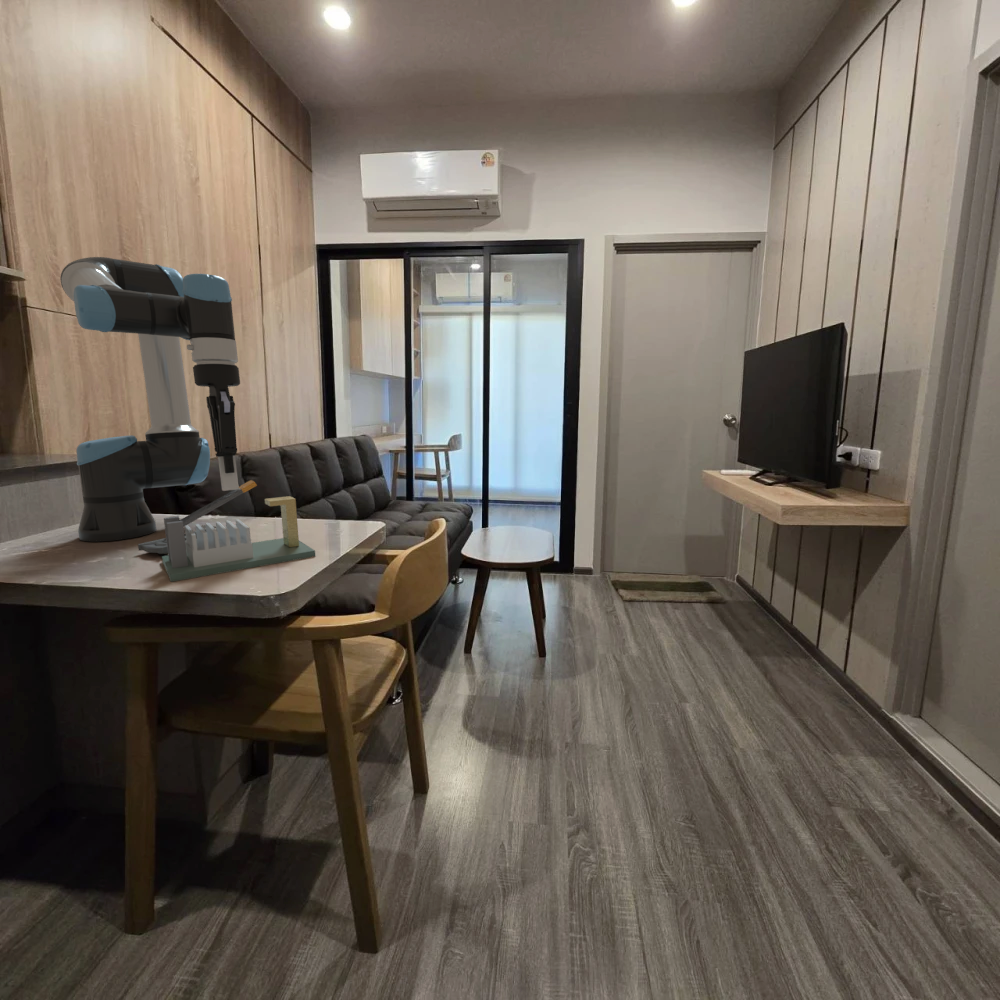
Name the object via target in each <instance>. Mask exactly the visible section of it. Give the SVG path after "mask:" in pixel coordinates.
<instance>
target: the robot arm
mask: <svg viewBox="0 0 1000 1000" xmlns="http://www.w3.org/2000/svg"><path fill="white" fill-rule="evenodd" d="M60 285H61V287H62V290H63V292H64V293H65V295H67V297H68V298H69V299H70V300H71V301H73V302H74V310H75V311H74V312H75V316H76V319H77V323H78V325H79V326H80V327H81V328H82V329H85V330H89V331H97V332H101V333H108V332H111V333H122V334H124V333H125V334H138V342H139V348H140V355H141V362H142V363H141V365H142V370H143V377H144V384H145V390H146V391H145V392H146V398H147V404H148V412H149V418H150V425H151V426H150V428H149V429H147V431H146V432H145V433H144V434H145V440H138V438H137V437H136V436H135V435H121V436H113V437H105V438H100V439H99V438H98V439H93V440H87V441H85V442H81V443H80V444H79V445H78V446H77V447H76V465H77V466H78V472H79V479H80V481H79V482H80V486H81V488H80V489H81V492H82V493H81V496H82V501H83V509H82V512H81V513H82V514H81V517H80V521H79V525H78V529H77V532H78V539H79V540H80V541H81V542H95V543H96V542H113V541H123V540H126V539H127V540H128V539H133V538H139V537H144V536H147V535H149V534H153V533H155V532H156V531H157V524H156V523H157V522H156V520H155V518H154V516H153V514H152V512H151V511H150V508H149V507H148V505H147V503H146V502H145V501H146V500H145V498H144V489H154V488H165V487H175V486H176V487H177V486H187V485H193V484H200V483H202V482H203V481H205V480H206V478H207V477H208V475H209V471H210V465H211V448H210V446H209V441H208V440H207V439H206V438H204V437H200V431H199V430H198V429H197V428H195V427H194V426H193V425H192V421H191V415H190V414H191V413H190V407H189V406H190V404H189V399H188V392H187V384H186V377H185V376H186V375H185V370H184V369H185V368H184V361H183V354H182V348H181V341H180V339H183V340H186V341H189V343H190V344H187V345H186V350H188V351H191V359H192V362H193V363H196V364H195V365H193V367H192V371H193V378H194V384H195V385H196V386H198V387H208V389H209V390H208V391H209V394H208V396H206V398H205V401H206V407H207V410H208V414H209V415H208V416H209V420H210V426H211V433H212V438H213V445H214V448H213V449H214V452H215V457H217V461H218V467H219V468H218V469H219V476H220V485H221V491H223V492H225V491H233V490H237V489H239V479H238V478H239V477H238V470H237V468H238V467H237V461H236V455H237V453H238V447H237V446H238V445H237V435H236V434H237V433H236V418H235V417H236V415H235V413H236V412H235V409H236V408H235V406H236V403H235V401H234V397H233V396H234V395H230V390H229V388H230V387H238V386H239V385H240V384H241V380H240V379H241V378H240V369H239V368H240V367H238V366H237V365H236V364H237V363H238V362H239V358H238V350H237V341H236V334H235V325H234V316H233V315H234V314H233V307H232V302H233V298H232V297H231V296H232V294H231V291H230V286H229V282H228V281H227V279H225V278H223V277H222V276H219V275H215V274H207V273H190V274H186V275H185V276H184V277H183V276H182V274H181V273H180V272H179V271H178V270H176V269H175V268H173V267H168V266H164V265H159V264H157V263H156V264H151V263H144V262H139V261H137V262H136V261H133V260H132V261H131V260H125V259H117V258H111V257H106V256H105V257H104V256H88V257H83V258H80V259H75V260H73V261H71V262H69V263H67V264H66V266H64V267H63V269H62V271H61V272H60Z"/></svg>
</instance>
